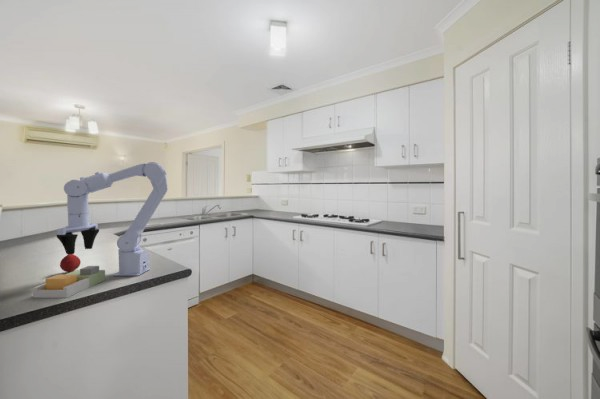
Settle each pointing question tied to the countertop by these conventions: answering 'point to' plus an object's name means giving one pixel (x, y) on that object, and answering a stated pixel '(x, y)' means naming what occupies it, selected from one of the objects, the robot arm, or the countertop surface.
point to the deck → (84, 280)
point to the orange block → (60, 281)
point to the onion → (70, 263)
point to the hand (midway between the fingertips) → (79, 251)
